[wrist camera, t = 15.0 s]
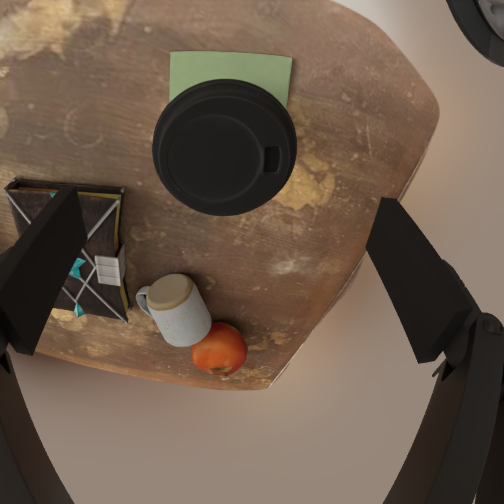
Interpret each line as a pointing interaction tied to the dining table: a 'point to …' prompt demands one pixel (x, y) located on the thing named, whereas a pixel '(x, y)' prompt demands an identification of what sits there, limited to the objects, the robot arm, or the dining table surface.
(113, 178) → the dining table surface
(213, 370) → the tomato
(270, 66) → the sage mat
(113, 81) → the dining table surface
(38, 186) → the book
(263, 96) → the coffee cup
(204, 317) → the ceramic mug
